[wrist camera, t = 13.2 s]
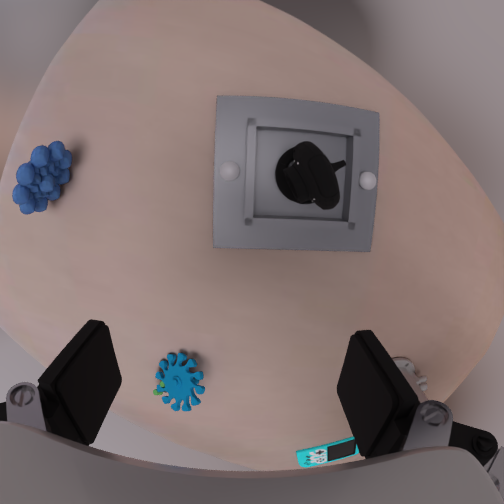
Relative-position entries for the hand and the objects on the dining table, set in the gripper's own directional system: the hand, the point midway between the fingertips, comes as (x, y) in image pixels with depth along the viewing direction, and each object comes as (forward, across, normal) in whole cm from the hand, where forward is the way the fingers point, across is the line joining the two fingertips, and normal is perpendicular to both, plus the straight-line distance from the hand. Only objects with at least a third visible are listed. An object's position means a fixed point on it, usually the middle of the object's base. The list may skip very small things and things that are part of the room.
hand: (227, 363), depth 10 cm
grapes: (+28, +27, -8) cm, 40 cm away
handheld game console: (+29, -23, +55) cm, 66 cm away
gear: (+28, +10, +25) cm, 39 cm away
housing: (+28, -8, -7) cm, 30 cm away
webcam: (+27, -8, -7) cm, 29 cm away
